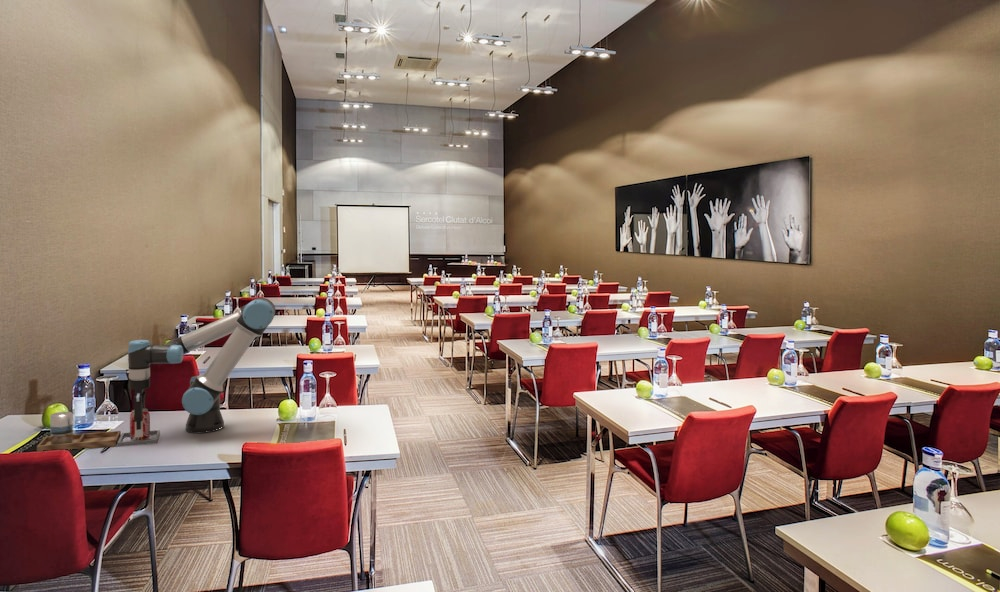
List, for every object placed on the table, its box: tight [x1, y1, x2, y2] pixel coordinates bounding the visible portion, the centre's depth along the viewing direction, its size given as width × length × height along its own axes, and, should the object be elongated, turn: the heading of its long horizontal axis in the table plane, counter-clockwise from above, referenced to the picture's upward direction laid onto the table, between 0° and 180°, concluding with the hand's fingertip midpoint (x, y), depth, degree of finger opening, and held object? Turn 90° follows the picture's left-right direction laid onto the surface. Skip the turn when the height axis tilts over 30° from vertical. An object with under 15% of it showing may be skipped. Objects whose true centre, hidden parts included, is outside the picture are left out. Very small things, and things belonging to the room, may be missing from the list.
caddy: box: [36, 430, 122, 452], centre depth 242 cm, size 25×13×2 cm, turn 115°
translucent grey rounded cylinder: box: [49, 411, 74, 445], centre depth 239 cm, size 7×7×12 cm
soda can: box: [129, 407, 151, 441], centre depth 250 cm, size 7×7×12 cm
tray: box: [116, 429, 161, 447], centre depth 250 cm, size 14×14×2 cm
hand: (140, 434), depth 250 cm, fingers closed on soda can, 7 cm apart
